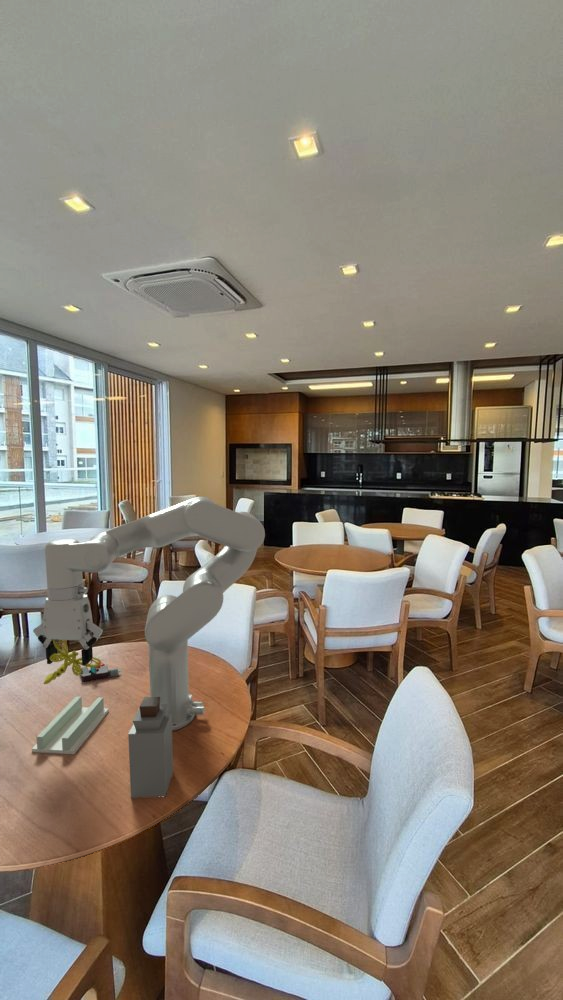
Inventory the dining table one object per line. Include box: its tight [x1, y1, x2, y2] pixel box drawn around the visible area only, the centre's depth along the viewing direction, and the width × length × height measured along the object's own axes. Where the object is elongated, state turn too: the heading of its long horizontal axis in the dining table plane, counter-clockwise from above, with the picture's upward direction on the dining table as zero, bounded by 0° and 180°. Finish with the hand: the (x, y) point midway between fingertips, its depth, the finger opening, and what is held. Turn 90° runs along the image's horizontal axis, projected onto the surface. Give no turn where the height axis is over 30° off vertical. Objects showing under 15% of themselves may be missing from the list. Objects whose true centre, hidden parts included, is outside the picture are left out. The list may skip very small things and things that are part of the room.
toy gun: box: [80, 661, 122, 683], centre depth 129 cm, size 10×12×5 cm
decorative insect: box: [43, 640, 102, 685], centre depth 99 cm, size 13×3×10 cm
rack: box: [31, 695, 110, 755], centre depth 102 cm, size 10×16×4 cm, turn 176°
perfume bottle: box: [127, 696, 174, 799], centre depth 84 cm, size 7×7×18 cm
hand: (69, 661), depth 100 cm, fingers closed on decorative insect, 8 cm apart
